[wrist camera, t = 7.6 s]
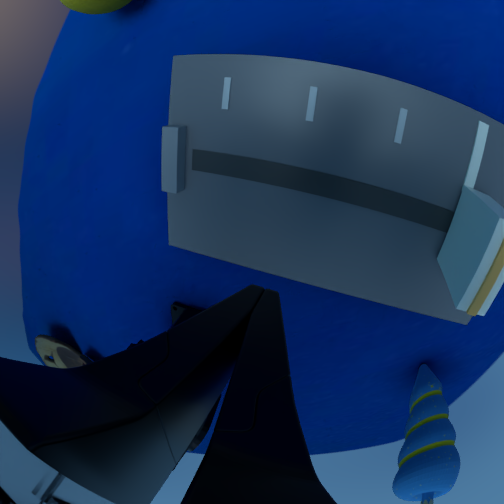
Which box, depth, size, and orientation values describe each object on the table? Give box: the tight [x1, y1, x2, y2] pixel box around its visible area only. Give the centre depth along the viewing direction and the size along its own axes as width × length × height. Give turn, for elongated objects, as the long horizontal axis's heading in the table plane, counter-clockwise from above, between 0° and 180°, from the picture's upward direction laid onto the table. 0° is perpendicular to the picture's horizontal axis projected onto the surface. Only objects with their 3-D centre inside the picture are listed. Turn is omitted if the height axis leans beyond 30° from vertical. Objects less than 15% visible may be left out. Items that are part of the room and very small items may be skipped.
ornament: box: [392, 364, 460, 504], centre depth 16 cm, size 5×5×15 cm
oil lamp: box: [35, 335, 93, 368], centre depth 45 cm, size 22×30×8 cm
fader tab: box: [437, 185, 504, 316], centre depth 12 cm, size 5×2×5 cm, turn 173°
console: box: [162, 54, 504, 325], centre depth 16 cm, size 14×24×3 cm, turn 83°
